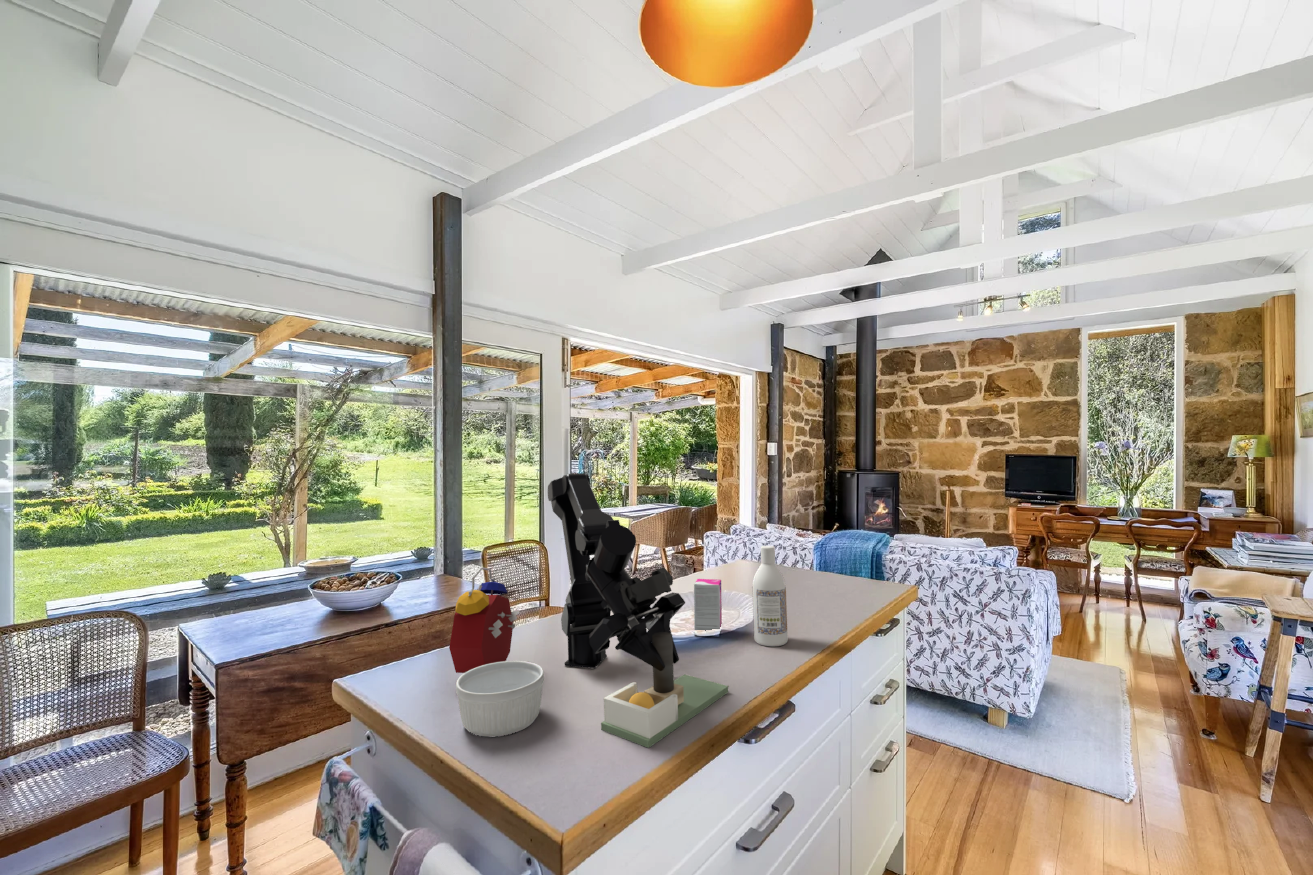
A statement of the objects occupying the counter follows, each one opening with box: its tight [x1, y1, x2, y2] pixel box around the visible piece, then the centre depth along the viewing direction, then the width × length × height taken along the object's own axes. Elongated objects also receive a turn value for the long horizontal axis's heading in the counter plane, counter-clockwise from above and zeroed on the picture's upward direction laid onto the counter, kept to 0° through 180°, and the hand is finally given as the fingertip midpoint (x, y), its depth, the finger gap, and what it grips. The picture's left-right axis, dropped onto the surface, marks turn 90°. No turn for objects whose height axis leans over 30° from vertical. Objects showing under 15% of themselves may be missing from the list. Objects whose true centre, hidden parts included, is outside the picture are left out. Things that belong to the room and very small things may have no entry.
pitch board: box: [600, 673, 729, 749], centre depth 88 cm, size 9×22×1 cm, turn 142°
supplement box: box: [693, 578, 723, 631], centre depth 125 cm, size 6×6×12 cm
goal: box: [603, 681, 678, 739], centre depth 83 cm, size 9×7×4 cm
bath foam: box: [751, 545, 789, 647], centre depth 118 cm, size 7×7×20 cm
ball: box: [629, 691, 654, 709], centre depth 83 cm, size 4×4×4 cm
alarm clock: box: [448, 567, 520, 674], centre depth 105 cm, size 15×9×20 cm, turn 173°
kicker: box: [643, 632, 684, 706], centre depth 88 cm, size 4×5×11 cm
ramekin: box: [455, 660, 545, 737], centre depth 87 cm, size 13×13×7 cm
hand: (670, 665), depth 87 cm, fingers closed on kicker, 3 cm apart
